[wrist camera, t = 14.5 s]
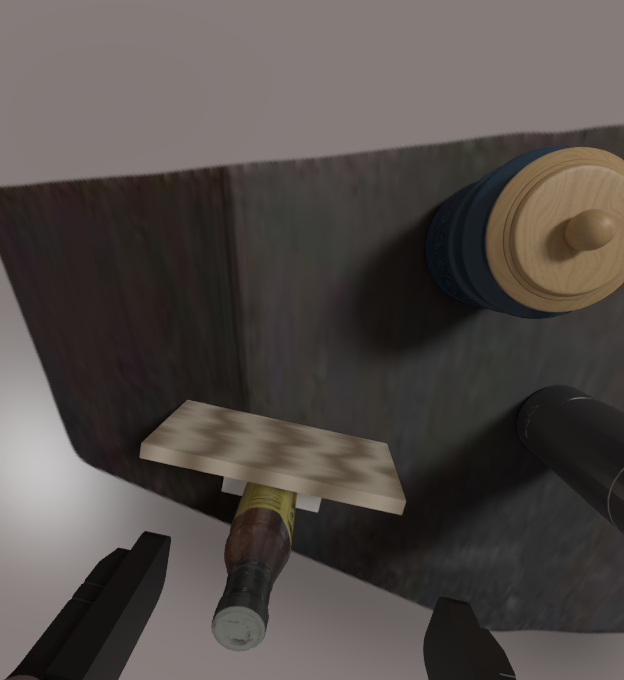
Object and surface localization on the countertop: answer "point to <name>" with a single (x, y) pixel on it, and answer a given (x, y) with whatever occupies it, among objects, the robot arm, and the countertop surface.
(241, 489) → the white plate
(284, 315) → the countertop surface
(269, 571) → the sauce bottle
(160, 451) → the birch board
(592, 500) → the robot arm
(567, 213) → the canister
